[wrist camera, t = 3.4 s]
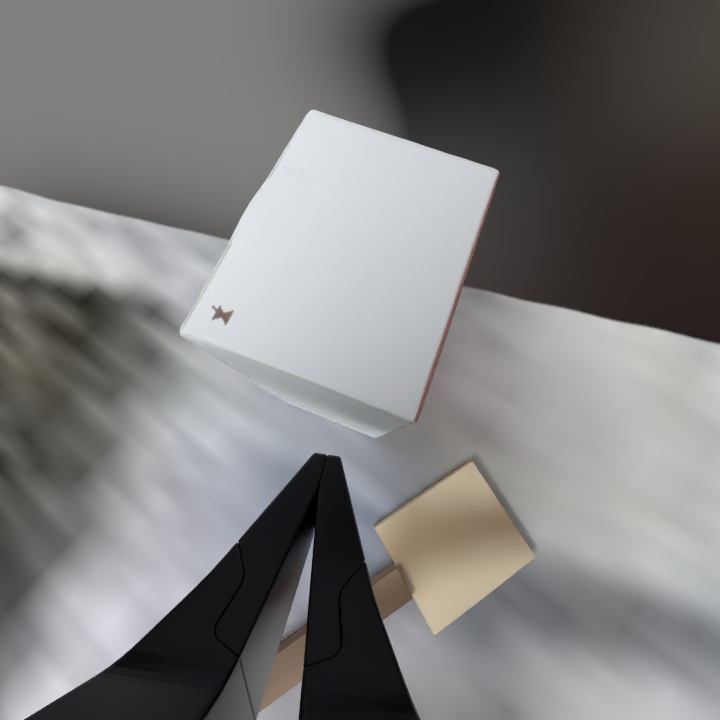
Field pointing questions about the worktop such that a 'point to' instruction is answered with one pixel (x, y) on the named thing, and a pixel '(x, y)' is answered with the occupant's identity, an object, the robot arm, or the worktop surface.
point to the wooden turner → (431, 561)
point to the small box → (346, 273)
